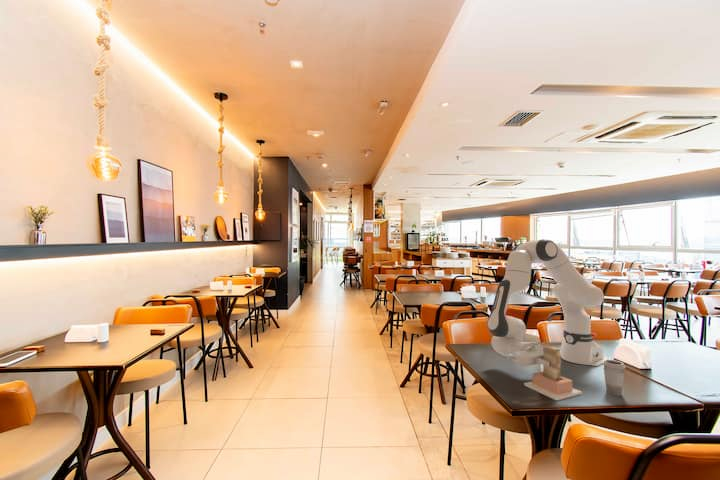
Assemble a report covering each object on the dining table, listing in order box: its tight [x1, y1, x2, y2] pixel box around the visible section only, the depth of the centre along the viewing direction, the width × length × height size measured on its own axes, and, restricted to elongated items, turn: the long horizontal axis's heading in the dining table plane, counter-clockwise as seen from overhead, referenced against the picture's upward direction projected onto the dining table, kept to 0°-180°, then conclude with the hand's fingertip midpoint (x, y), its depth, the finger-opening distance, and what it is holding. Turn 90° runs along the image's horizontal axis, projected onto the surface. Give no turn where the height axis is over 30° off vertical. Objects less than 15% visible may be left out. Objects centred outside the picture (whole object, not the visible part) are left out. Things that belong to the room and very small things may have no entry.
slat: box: [542, 344, 561, 381], centre depth 128 cm, size 3×5×14 cm, turn 22°
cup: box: [601, 359, 626, 397], centre depth 125 cm, size 7×7×12 cm
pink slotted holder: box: [523, 371, 583, 401], centre depth 128 cm, size 14×14×5 cm
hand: (553, 363), depth 127 cm, fingers closed on slat, 3 cm apart
